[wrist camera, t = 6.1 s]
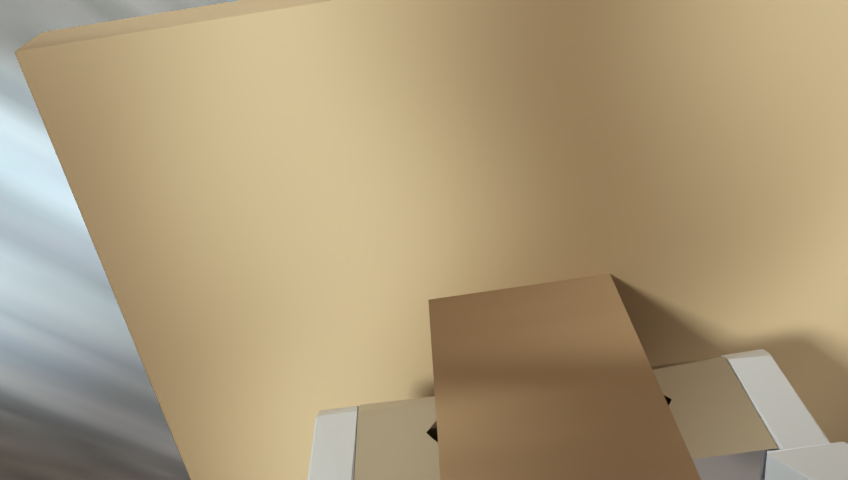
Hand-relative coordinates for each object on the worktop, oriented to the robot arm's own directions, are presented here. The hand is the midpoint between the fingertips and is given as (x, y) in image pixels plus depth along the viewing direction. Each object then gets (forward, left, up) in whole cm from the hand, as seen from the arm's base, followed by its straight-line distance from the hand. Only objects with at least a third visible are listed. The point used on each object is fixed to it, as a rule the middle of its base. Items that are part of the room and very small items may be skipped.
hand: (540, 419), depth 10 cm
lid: (0, 0, -2) cm, 2 cm away
